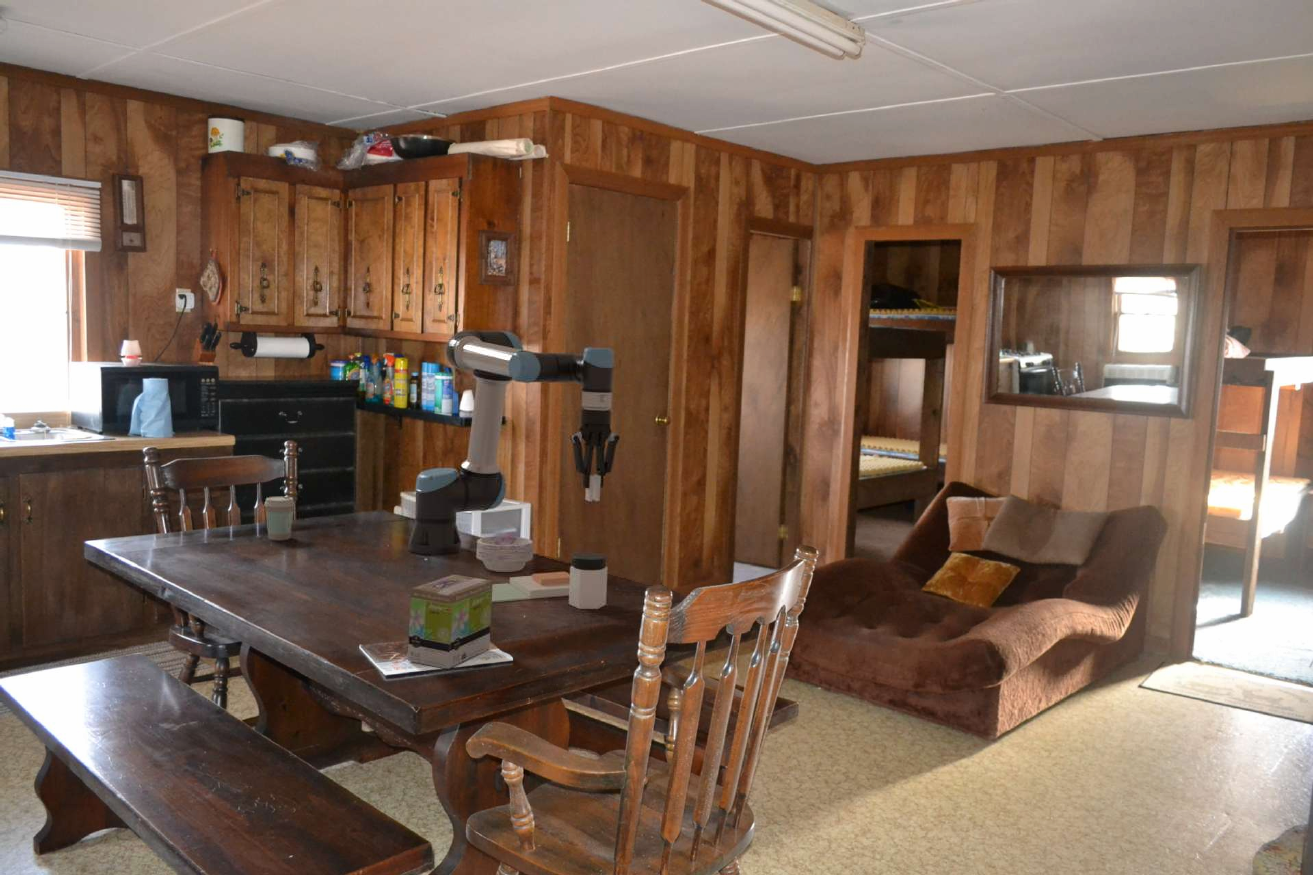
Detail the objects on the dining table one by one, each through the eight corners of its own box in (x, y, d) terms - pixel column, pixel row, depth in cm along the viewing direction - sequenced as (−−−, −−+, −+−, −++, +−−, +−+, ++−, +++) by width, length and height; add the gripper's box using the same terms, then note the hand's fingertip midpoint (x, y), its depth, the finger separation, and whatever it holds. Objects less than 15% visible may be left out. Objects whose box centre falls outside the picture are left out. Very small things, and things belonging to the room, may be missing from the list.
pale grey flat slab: (509, 585, 263) (509, 577, 263) (567, 580, 271) (567, 573, 271) (529, 598, 251) (530, 590, 251) (589, 593, 259) (589, 585, 259)
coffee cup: (288, 542, 301) (288, 501, 300) (259, 540, 301) (259, 500, 300) (298, 536, 309) (299, 496, 308) (270, 535, 309) (270, 495, 308)
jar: (580, 598, 254) (582, 550, 253) (610, 603, 251) (612, 554, 250) (563, 606, 246) (565, 557, 244) (594, 611, 243) (596, 561, 241)
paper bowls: (515, 560, 292) (516, 532, 291) (542, 572, 280) (543, 543, 279) (466, 565, 283) (467, 537, 282) (492, 577, 270) (493, 548, 270)
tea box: (450, 670, 197) (452, 594, 195) (406, 662, 200) (408, 587, 199) (491, 649, 211) (493, 578, 209) (449, 642, 214) (451, 572, 213)
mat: (450, 589, 257) (450, 587, 256) (507, 584, 264) (507, 583, 264) (469, 604, 243) (469, 602, 243) (529, 599, 251) (529, 597, 251)
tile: (532, 579, 262) (532, 573, 262) (564, 577, 266) (565, 571, 266) (541, 585, 257) (541, 579, 257) (574, 582, 261) (574, 576, 261)
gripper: (576, 409, 255) (572, 503, 257) (628, 410, 262) (624, 501, 264) (564, 407, 262) (560, 498, 264) (615, 407, 269) (611, 497, 271)
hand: (592, 500), depth 264 cm, fingers closed
